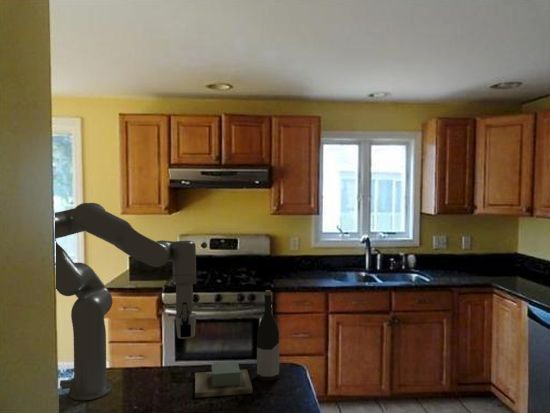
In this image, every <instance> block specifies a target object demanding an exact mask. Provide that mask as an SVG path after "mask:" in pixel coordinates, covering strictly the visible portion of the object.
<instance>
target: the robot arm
mask: <svg viewBox="0 0 550 413" xmlns="http://www.w3.org/2000/svg"><path fill="white" fill-rule="evenodd" d="M83 232H86V233H88V234H90V235H92V236H94V237H96V238H99V239H101V240H102V241H104V242H107V243H109V244H110V245H113V246H114V247H116V248H117V249H118V250H120V251H121V252H123V253H124V254H126V255H128V256H130V257H131V258H133V259H134V260H137V261H139V262H141V263H144V264H146V265H148V266H150V267H155V268H159V267H162V266H163V267H164V265H166V264H167V263H169V262H172V285H174V286H175V303H176V304H175V308H176V309H175V310H176V311H175V312H176V313H175V315H177V316H178V315H180V314H181V325H180V331H181V337H190V336H191V324H190V315H191V314H192V313H193V306H194V305H193V301H194V286H193V285H195V284H196V283H197V253H196V252H197V249H196V248H197V246H196V243H195V242H194V241H193V240H177V241H171V240H157V241H156V240H153V239H151V238H149V237H147V236H145V235H143V234H142V233H140V232H139V231H137V230H135V228H134V227H133V226H132V224H130V222H128V221H127V220H125V219H123V218H120V217H118V216H117V215H114V214H113V213H111V212H109V211H107V210H106V209H105V208H104V207H103V206H102V205H101V204H100V203H97V202H84V203H83V202H82V203H80V204H78V205H77V206H75V207H73V208H70V209H65V210H62V211H56V212H55V241H56V288H55V290H56V289H57V290H56V291H57V292H58V293H59V294H60V295H62V296H64V297H72V296H75V297H76V298H77V299H76V300H75V301H74V303H73V304H72V307H71V311H70V319H71V324H72V332H73V336H72V337H73V378H71V379H63V380H60V381H59V387H61V390H65V389H66V390H67V389H69V390H68V397H69V398H70V399H72V400H75V401H90V400H91V401H92V400H95V399H99V398H101V397H104V396H106V395H107V394H109V393H110V392H111V391H112V383H110V382H109V381H107V331H106V324H105V316H106V315H107V313H109V311H111V308H112V306H113V297H112V294H111V292H110V291H109V289H108V288H107V286H106V285H105V284H104V282H103V281H102V280H101V278H100V277H99V276H98V274H97V273H96V272H95V270H94V269H93V268H92V267H90V266H89V265H88V264H86V263H83V262H74V261H73V259H72V258H71V257H70V256H69V255H68V253H67V251H66V250H65V249H64V248H63V247H62V246H61V245H60V244H59V243H58V242H57V239H60V238H64V237H65V238H66V237H67V236H71V235H75V234H78V233H83ZM182 313H183V315H182ZM187 313H188V314H187ZM187 317H188V318H187Z"/></svg>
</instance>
